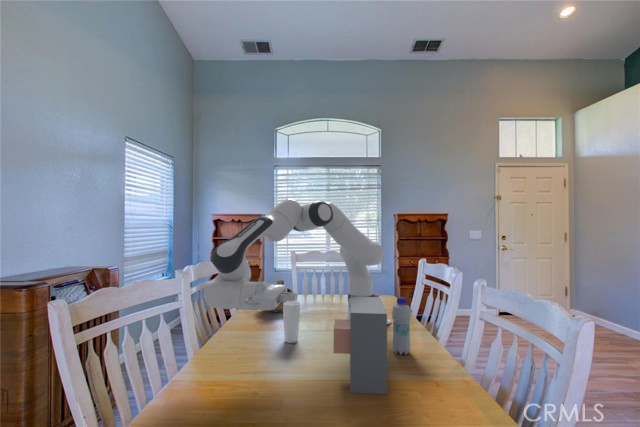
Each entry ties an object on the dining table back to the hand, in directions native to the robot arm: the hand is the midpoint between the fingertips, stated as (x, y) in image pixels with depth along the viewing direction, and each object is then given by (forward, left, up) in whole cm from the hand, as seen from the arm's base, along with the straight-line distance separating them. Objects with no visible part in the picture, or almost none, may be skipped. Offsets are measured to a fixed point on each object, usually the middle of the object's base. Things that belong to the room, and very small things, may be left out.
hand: (296, 297), depth 100 cm
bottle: (-40, +8, -24) cm, 47 cm away
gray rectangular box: (-17, +14, -24) cm, 32 cm away
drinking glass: (-12, -24, -24) cm, 36 cm away
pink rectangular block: (-11, +9, -15) cm, 21 cm away
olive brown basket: (-27, -66, -24) cm, 75 cm away
